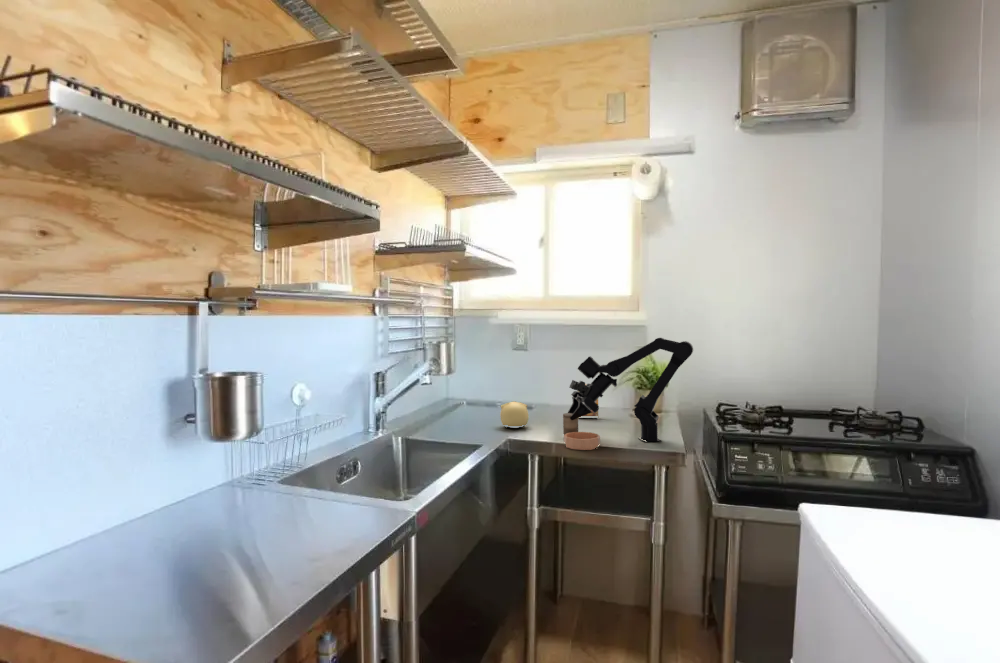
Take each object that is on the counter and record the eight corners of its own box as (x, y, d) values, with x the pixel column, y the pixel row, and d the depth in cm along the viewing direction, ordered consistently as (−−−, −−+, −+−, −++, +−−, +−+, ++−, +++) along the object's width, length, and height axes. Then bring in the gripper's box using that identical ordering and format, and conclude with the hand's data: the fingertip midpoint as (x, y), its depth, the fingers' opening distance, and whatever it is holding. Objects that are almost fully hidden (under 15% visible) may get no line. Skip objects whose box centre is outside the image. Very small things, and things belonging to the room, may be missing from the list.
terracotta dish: (603, 449, 175) (603, 438, 175) (569, 450, 174) (569, 440, 174) (593, 441, 187) (593, 431, 187) (561, 442, 186) (561, 432, 186)
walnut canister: (580, 437, 190) (579, 415, 190) (565, 437, 189) (565, 415, 189) (576, 433, 195) (576, 412, 195) (561, 434, 195) (561, 413, 195)
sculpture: (526, 424, 219) (526, 399, 219) (530, 430, 207) (530, 403, 207) (499, 425, 218) (499, 399, 218) (501, 431, 206) (501, 404, 206)
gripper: (576, 370, 202) (548, 399, 201) (589, 374, 183) (559, 407, 182) (596, 389, 203) (568, 419, 202) (611, 396, 184) (581, 428, 183)
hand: (569, 417), depth 192 cm, fingers closed on walnut canister, 5 cm apart
